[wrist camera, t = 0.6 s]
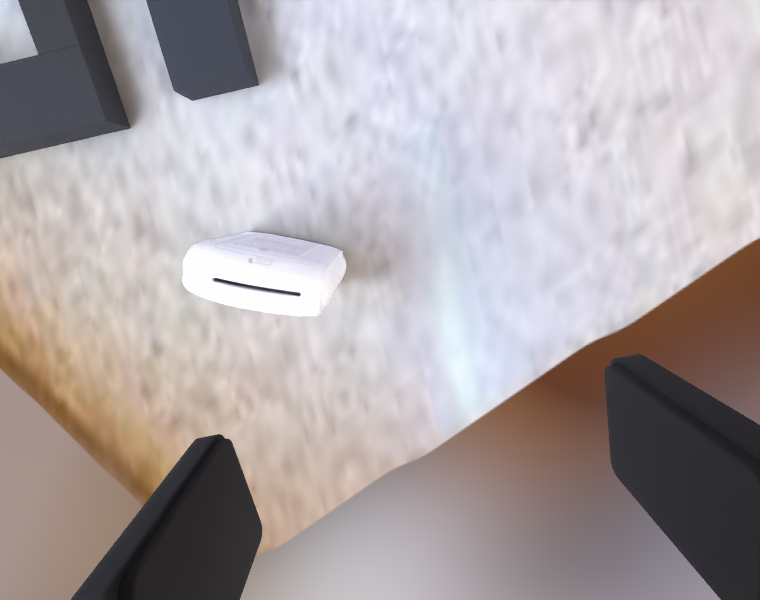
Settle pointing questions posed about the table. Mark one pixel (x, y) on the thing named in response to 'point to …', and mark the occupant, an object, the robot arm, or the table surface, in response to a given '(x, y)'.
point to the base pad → (58, 82)
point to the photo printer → (265, 273)
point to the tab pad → (203, 46)
